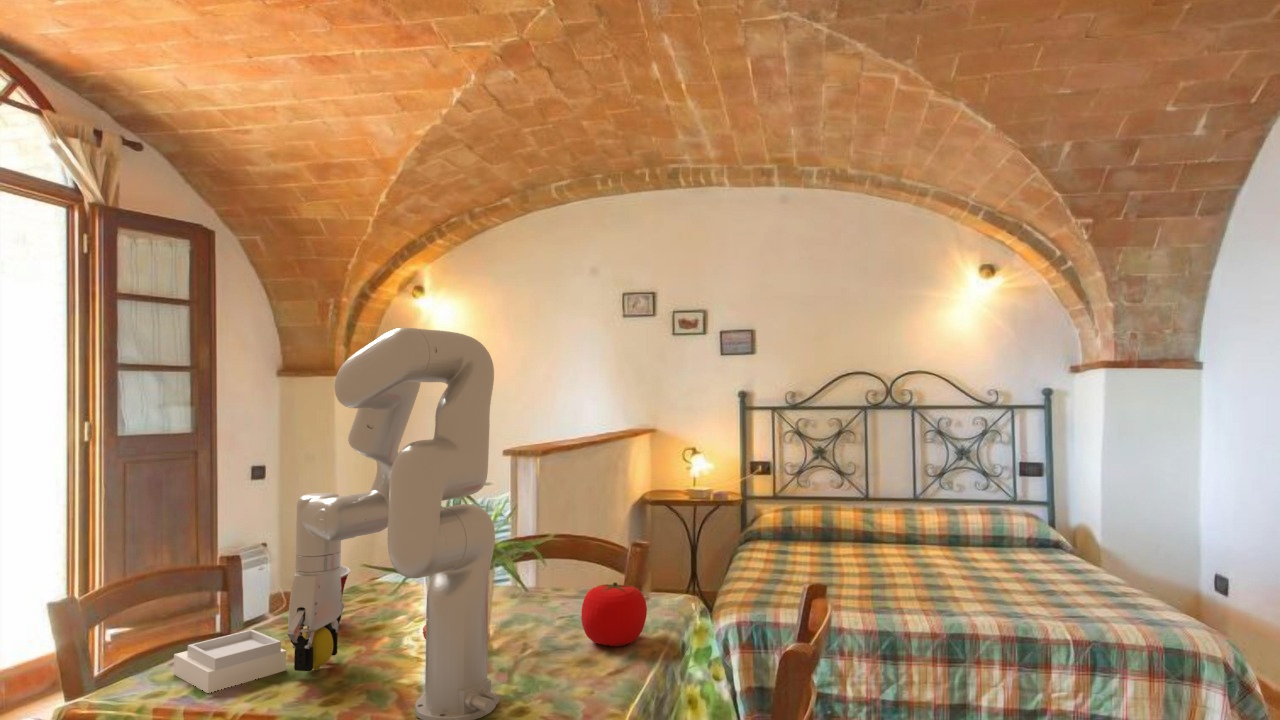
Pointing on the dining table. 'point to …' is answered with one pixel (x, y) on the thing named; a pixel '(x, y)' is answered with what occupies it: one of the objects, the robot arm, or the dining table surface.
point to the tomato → (613, 614)
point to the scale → (230, 660)
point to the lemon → (321, 647)
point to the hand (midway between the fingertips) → (316, 661)
